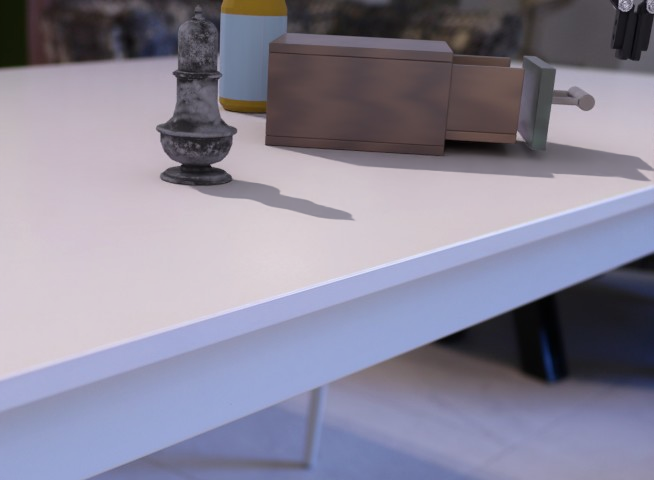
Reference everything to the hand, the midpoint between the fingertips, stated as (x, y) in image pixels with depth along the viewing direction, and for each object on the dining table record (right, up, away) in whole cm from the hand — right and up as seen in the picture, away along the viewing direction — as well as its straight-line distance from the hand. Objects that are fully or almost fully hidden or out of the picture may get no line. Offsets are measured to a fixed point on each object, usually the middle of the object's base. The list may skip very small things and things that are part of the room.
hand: (626, 58), depth 94 cm
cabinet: (-24, -6, +5) cm, 25 cm away
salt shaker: (-37, -14, -17) cm, 43 cm away
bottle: (-34, 0, +21) cm, 40 cm away
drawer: (-13, -6, +3) cm, 14 cm away
